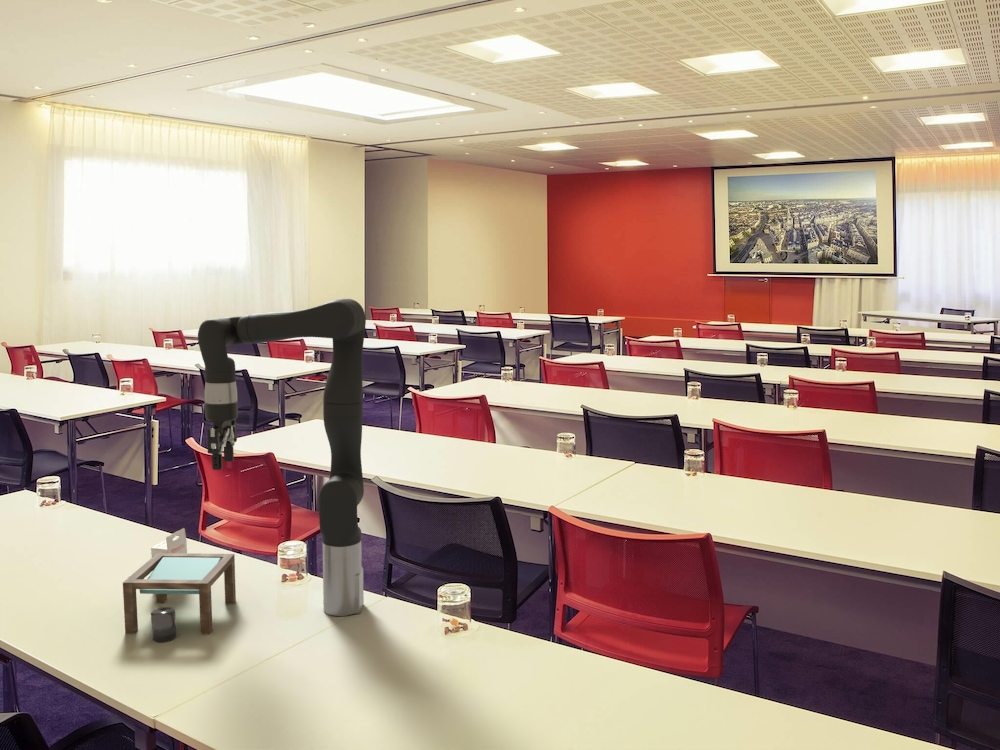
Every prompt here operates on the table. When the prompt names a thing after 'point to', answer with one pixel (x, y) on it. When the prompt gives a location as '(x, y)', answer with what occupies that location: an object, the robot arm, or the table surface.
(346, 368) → the robot arm
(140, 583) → the miniature wooden table
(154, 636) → the cylinder
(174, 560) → the trapdoor
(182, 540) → the ink cartridge box
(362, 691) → the table surface
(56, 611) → the table surface
